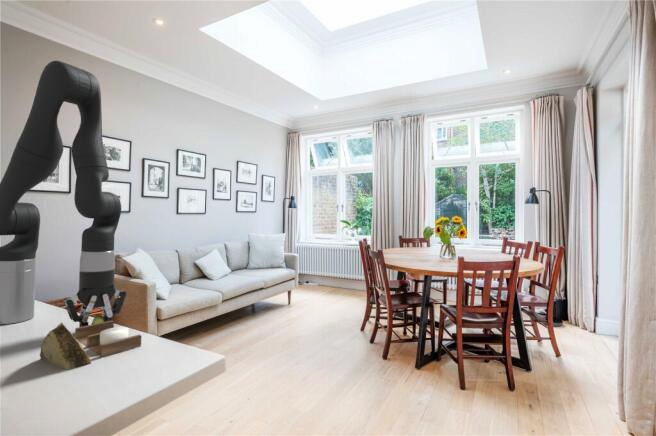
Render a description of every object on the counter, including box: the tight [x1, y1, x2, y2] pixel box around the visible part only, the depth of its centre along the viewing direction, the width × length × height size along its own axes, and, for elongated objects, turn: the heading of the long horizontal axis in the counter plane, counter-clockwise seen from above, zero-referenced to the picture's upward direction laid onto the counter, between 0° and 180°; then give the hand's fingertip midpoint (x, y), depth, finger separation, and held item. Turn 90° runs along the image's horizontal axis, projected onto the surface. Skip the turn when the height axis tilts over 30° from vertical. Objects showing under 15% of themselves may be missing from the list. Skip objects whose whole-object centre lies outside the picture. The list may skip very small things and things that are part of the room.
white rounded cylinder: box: [100, 326, 130, 347], centre depth 77 cm, size 6×6×4 cm
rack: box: [74, 319, 142, 358], centre depth 79 cm, size 16×8×4 cm, turn 54°
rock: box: [39, 322, 92, 370], centre depth 70 cm, size 11×9×10 cm
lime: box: [90, 313, 105, 325], centre depth 87 cm, size 4×5×5 cm
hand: (95, 333), depth 87 cm, fingers closed on lime, 4 cm apart
